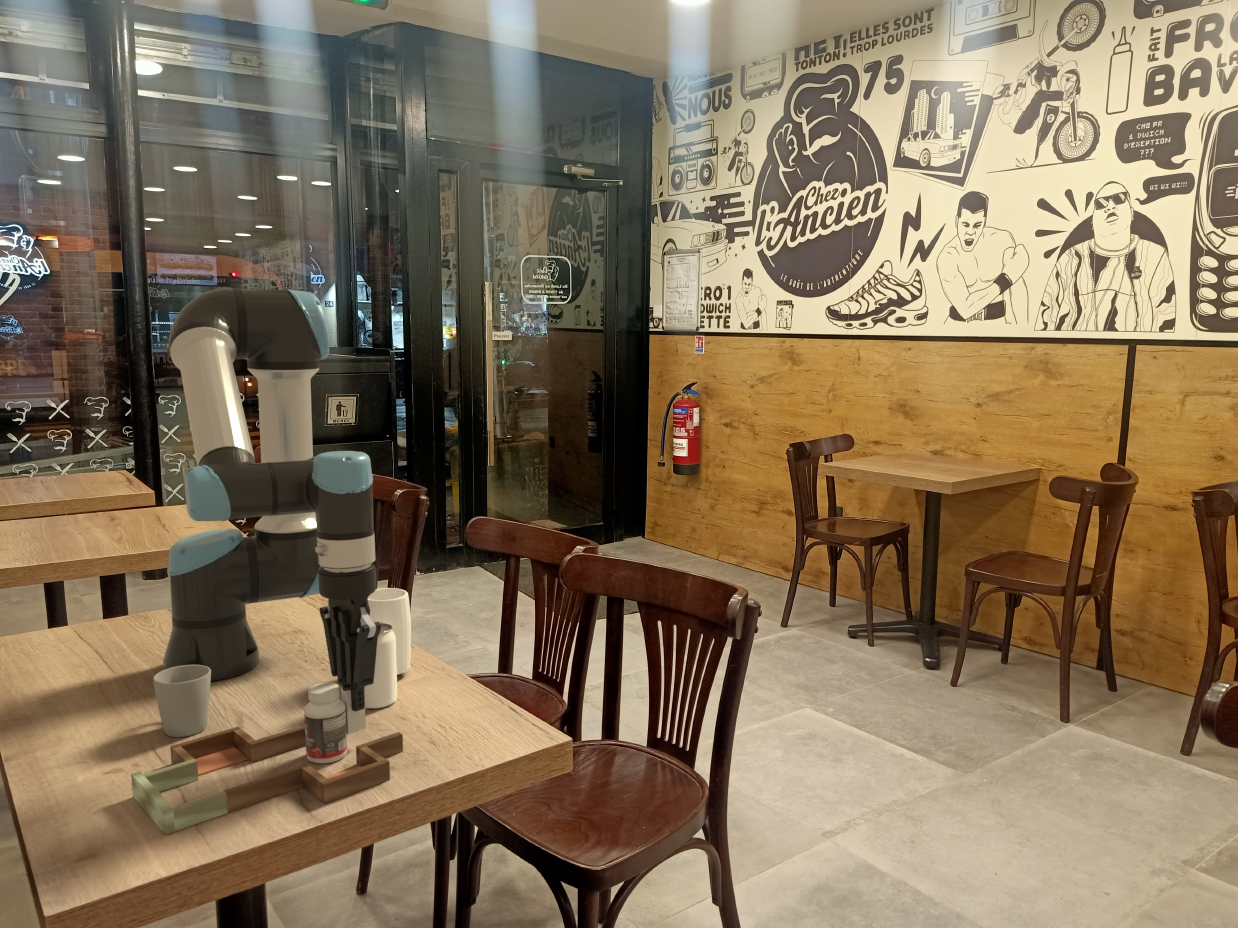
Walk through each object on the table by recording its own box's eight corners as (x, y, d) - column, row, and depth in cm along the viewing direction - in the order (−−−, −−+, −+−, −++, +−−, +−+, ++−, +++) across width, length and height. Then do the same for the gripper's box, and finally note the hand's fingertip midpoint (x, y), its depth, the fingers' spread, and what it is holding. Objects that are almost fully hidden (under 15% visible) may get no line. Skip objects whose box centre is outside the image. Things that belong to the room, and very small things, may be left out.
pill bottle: (298, 755, 124) (295, 687, 123) (334, 743, 128) (331, 676, 127) (319, 768, 120) (315, 698, 119) (355, 755, 124) (352, 687, 123)
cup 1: (158, 745, 127) (154, 687, 126) (154, 719, 136) (150, 664, 134) (217, 733, 131) (214, 677, 130) (209, 709, 139) (206, 656, 138)
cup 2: (421, 669, 156) (419, 590, 154) (394, 687, 149) (392, 603, 147) (379, 663, 159) (376, 585, 157) (350, 680, 151) (347, 598, 149)
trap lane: (118, 779, 117) (116, 757, 117) (340, 712, 138) (340, 693, 138) (184, 856, 100) (182, 830, 100) (426, 765, 121) (426, 744, 121)
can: (386, 711, 139) (383, 636, 137) (347, 707, 140) (344, 633, 138) (404, 695, 145) (402, 623, 143) (367, 692, 146) (364, 620, 145)
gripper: (298, 561, 125) (307, 723, 129) (345, 579, 116) (353, 753, 119) (348, 552, 131) (355, 708, 134) (396, 568, 121) (403, 735, 125)
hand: (354, 729), depth 127 cm, fingers closed
